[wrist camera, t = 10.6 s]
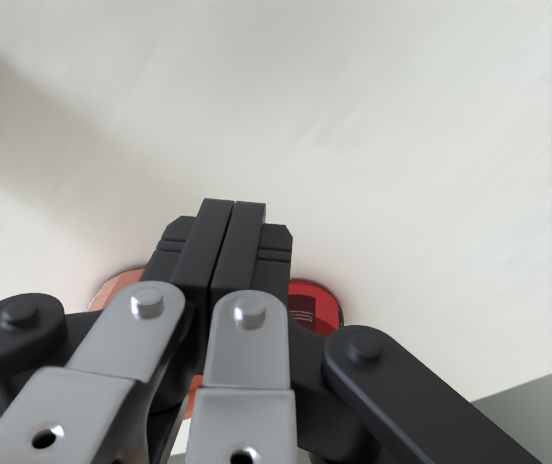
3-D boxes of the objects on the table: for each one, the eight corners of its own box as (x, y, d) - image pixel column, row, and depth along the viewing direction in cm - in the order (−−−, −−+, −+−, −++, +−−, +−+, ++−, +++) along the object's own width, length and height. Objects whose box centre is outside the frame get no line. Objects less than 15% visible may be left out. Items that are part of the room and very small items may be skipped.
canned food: (314, 356, 49) (313, 457, 39) (242, 320, 47) (223, 417, 38) (361, 304, 45) (371, 401, 36) (284, 263, 44) (274, 354, 34)
